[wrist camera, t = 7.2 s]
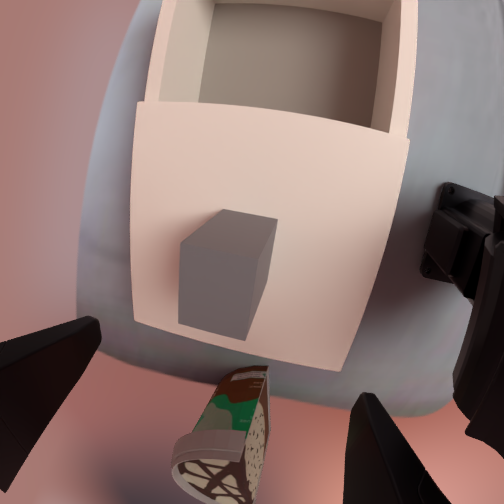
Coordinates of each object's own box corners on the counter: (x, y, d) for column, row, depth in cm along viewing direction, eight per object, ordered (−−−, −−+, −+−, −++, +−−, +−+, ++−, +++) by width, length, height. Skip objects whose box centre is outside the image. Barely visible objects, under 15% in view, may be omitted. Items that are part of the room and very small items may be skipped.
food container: (195, 345, 24) (142, 435, 15) (267, 352, 23) (238, 457, 14) (214, 429, 29) (185, 504, 20) (271, 437, 27) (251, 518, 18)
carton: (393, 19, 13) (417, -18, 8) (368, 195, 17) (389, 218, 12) (208, -2, 14) (173, -38, 9) (183, 162, 19) (137, 173, 14)
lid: (406, 139, 11) (456, 141, 6) (339, 366, 15) (340, 438, 11) (143, 102, 12) (71, 95, 8) (138, 316, 17) (91, 367, 12)
